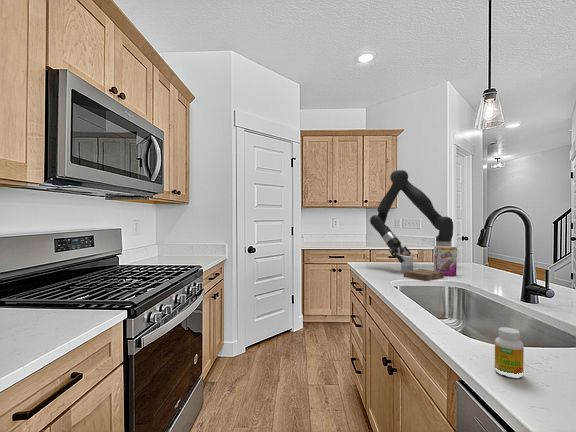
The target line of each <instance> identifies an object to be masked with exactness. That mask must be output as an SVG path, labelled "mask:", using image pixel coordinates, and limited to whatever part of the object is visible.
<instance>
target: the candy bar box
mask: <svg viewBox="0 0 576 432" xmlns="http://www.w3.org/2000/svg"><path fill="white" fill-rule="evenodd" d="M433 249H434V250H433V251H434V253H433V254H434V255H433V257H434V258H433V271H438V272H444V277H456V276H457V266H458V265H457V260H458V258H457V257H458V255H457V254H458V253H457V252H458V251H457V250H458V247H456V246H451V247H444V246H436V245H435V246H434V248H433Z"/></svg>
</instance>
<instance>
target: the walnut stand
mask: <svg viewBox="0 0 576 432" xmlns="http://www.w3.org/2000/svg"><path fill="white" fill-rule="evenodd" d="M444 277H445V276H444V272H438V271H434V270H430V269H425V268H419V269H413V270H411V271H404V274H403V278H407V279H414V280H418V281H425V282H428V281H433V280H439V279H440V280H441V279H444Z"/></svg>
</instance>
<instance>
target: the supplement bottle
mask: <svg viewBox="0 0 576 432" xmlns="http://www.w3.org/2000/svg"><path fill="white" fill-rule="evenodd" d="M497 333H498V337H496V338H495V339H494V369H495V368H497V369H498V370H500V371H503V372H507V373H514V374H517V373H518V374H519V373H522V372H523V373H524V356H525V354H524V352H525V351H524V348H525V346H524V343H523V342H522V341H521V340H520V338H521V332H520V330H518V329H516V328H512V327H508V326H507V327H505V326H503V327H499V328H498V332H497Z"/></svg>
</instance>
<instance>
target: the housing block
mask: <svg viewBox="0 0 576 432" xmlns="http://www.w3.org/2000/svg"><path fill="white" fill-rule="evenodd" d="M400 256H401V257H402V259H403V260H404V261H403V263H400V264H401V265H400V266H401V267H400V268H401V269H400V270H401V271H400V273H401V274H402V275H404V271H411V270H414V256H412V255H410V256H403V255H400Z"/></svg>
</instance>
